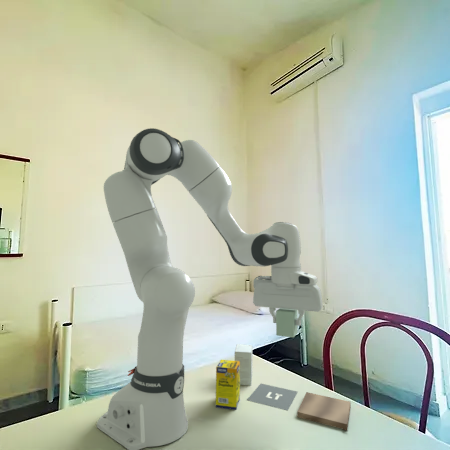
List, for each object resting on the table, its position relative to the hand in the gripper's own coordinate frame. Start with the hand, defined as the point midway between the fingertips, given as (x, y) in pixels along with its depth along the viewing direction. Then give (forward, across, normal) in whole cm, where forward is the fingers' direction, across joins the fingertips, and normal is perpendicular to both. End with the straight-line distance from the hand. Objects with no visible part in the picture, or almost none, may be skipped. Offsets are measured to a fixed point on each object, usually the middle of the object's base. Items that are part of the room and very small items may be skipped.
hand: (287, 324), depth 87 cm
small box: (+22, -16, +6) cm, 28 cm away
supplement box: (+22, -15, -10) cm, 28 cm away
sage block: (+3, 0, 0) cm, 3 cm away
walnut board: (+22, +10, -2) cm, 24 cm away
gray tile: (+22, -5, 0) cm, 22 cm away
